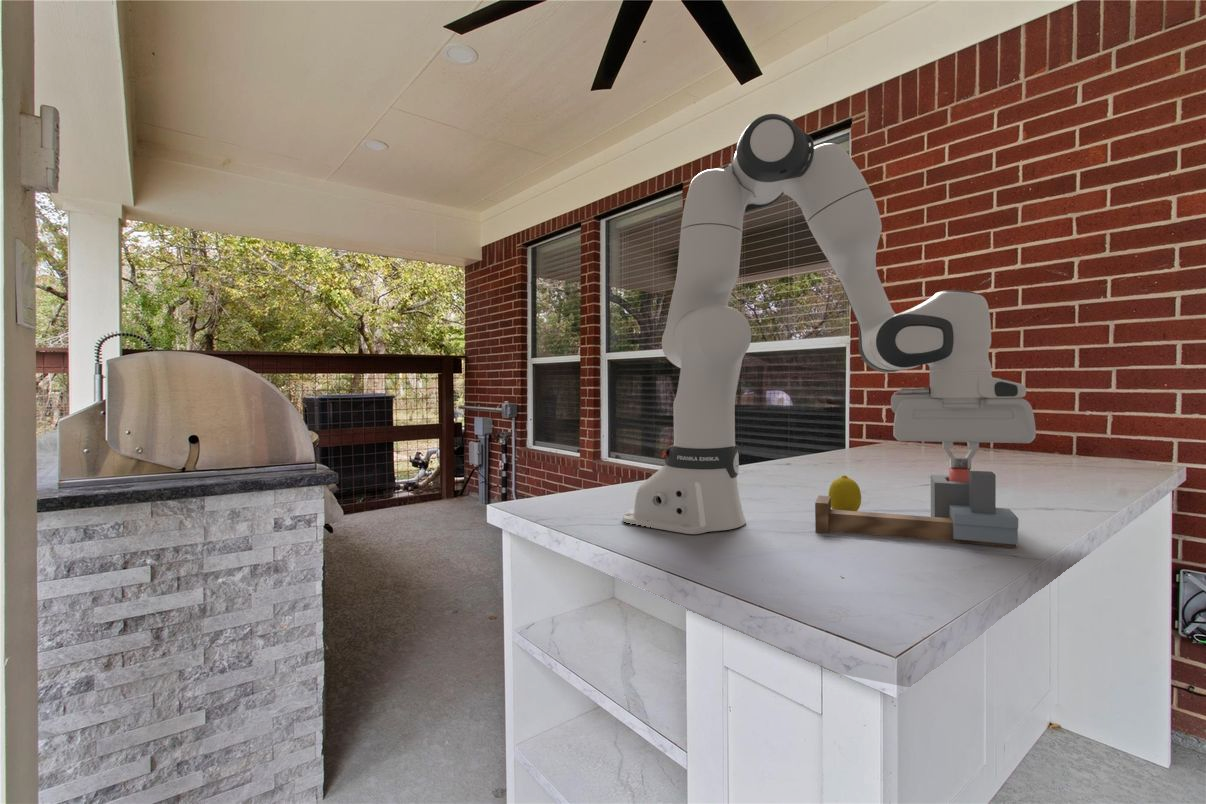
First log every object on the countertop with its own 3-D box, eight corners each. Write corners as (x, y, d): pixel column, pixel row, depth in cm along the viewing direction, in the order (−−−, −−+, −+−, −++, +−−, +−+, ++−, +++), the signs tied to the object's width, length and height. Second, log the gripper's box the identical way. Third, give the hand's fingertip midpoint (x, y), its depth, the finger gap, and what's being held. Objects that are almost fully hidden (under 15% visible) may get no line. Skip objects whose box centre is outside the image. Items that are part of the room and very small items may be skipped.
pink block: (950, 504, 94) (950, 469, 94) (948, 501, 97) (948, 466, 97) (971, 506, 93) (971, 470, 93) (968, 502, 95) (968, 467, 95)
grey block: (934, 530, 93) (934, 482, 93) (930, 518, 100) (930, 474, 100) (992, 534, 90) (992, 485, 89) (983, 522, 97) (983, 477, 96)
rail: (815, 531, 94) (815, 502, 94) (818, 523, 99) (818, 495, 99) (1018, 550, 82) (1018, 516, 81) (1009, 539, 87) (1010, 507, 87)
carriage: (954, 539, 85) (953, 474, 85) (949, 529, 91) (949, 468, 90) (1018, 545, 81) (1018, 477, 81) (1009, 533, 87) (1009, 470, 87)
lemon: (864, 522, 99) (864, 478, 99) (831, 522, 100) (831, 477, 100) (857, 515, 104) (856, 472, 104) (825, 514, 105) (825, 472, 105)
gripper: (891, 389, 96) (892, 468, 96) (1038, 386, 87) (1038, 474, 87) (890, 387, 101) (891, 463, 102) (1028, 385, 92) (1028, 467, 93)
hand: (960, 468), depth 95 cm, fingers closed, pressing on pink block
